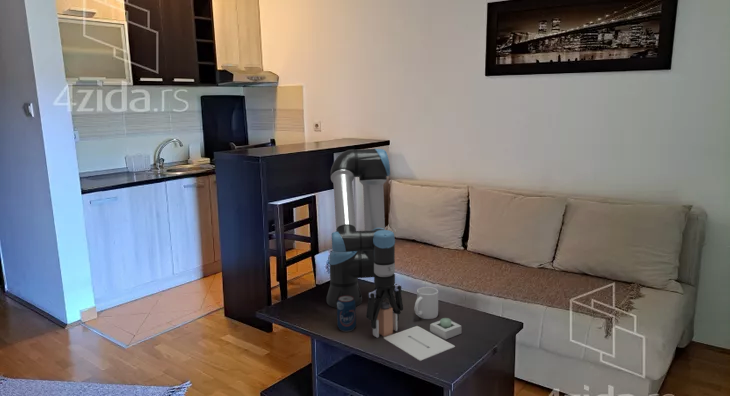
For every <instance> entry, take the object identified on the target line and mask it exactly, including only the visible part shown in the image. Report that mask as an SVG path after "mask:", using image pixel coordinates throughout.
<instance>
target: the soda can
mask: <svg viewBox="0 0 730 396" xmlns="http://www.w3.org/2000/svg"><path fill="white" fill-rule="evenodd" d="M356 307H357V306H355V300H354V297H352V296H349V295H344V296H340V297H339V298H338V301H337V308H336V316H337V327H338V329H339V330H340V331H342V332H351V331H353V330H354V329H355V327H356V326H357V319H356V318H357V315H356V314H357V313H356Z"/></svg>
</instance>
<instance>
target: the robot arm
mask: <svg viewBox="0 0 730 396" xmlns="http://www.w3.org/2000/svg"><path fill="white" fill-rule="evenodd" d="M390 175H391V165H390V159H389V156H388V152H387V150H385V149H383V148H365V149H363V148H362V149H359V148H358V149H347V150H345V151H343V152H341V153H340V154H339V155H338V156H337V157H336V158H335V159H334V161H333V162H332V166H331V169H330V180H331V183H333V198H334V210H335V211H334V213H335V214H334V215H335V230H336V231H333V232H331V250H332V251H331V252H330V253H329V262H328V264H329V288H328V291H327V295H326V303H327V305H328V306H330V307H332V308H336V309H337V301H338V298H339V297H340V296H344V295H349V296H352V297H354V300H355V306H356V307H358V306H360V305H361V304H362V303H363V294H362V292H361V289H360V286H359V283H358V282H359V280H358V279H365V278H367V279H368V278H373V282H374V283H373V284H374V290H373V291H371V292H370V291H367V306H366V315H365V317H366V319H368V320H369V321H370V327H371V329H372V335H373V336H374V337H376V338H379V337H380V334H379V320H377V317H378V314H379V311H380V307H381V304H382V303H383V302H385V300H386V299H387V300H388V303H389V306H390V307H391V308H393V331H395V332H398V322H399V320H400V316H399V315H401V314H402V311H403V310H404V305H403V297H402V285H399V284H397V283H396V274H395V273H396V268H395V267H396V263H395V261H396V260H395V257H396V256H395V255H396V254H395V253H396V250H395V248H396V247H395V246H396V245H395V244H396V239H395V233H394V232H393V231H391V230H389V229H386V224H385V219H386V217H385V196H384V195H385V194H384V192H385V191H384V184H385V183H386V182H387V181H388V180H387V178H388V177H390ZM355 178H358V179H359V183H360V184H361V185H362V188H363V189H362V190H363V218H364V219H363V220H364V230H357V229H356V228H357V227H356V217H355V203H354V191H353V181H354V179H355ZM395 283H396V284H395Z"/></svg>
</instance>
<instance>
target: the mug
mask: <svg viewBox="0 0 730 396" xmlns="http://www.w3.org/2000/svg"><path fill="white" fill-rule="evenodd" d="M413 307H414V308H413V309H414V313H415V315H417V317H419V318H420V319H423V320H434V319H436V318H437V317H438V315H439V290H438V289H437V288H436V287H432V286H423V287H418V288H417V290H416V300H415V302H414V306H413Z"/></svg>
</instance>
